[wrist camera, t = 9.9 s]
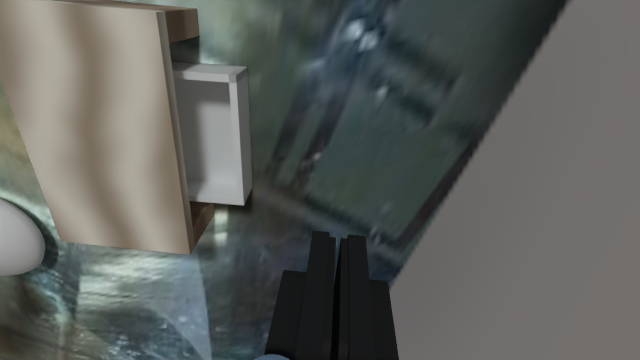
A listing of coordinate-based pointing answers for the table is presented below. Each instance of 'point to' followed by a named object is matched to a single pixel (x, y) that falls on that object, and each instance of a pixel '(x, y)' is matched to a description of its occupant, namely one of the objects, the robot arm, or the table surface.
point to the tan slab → (103, 118)
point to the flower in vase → (18, 241)
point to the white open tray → (214, 131)
